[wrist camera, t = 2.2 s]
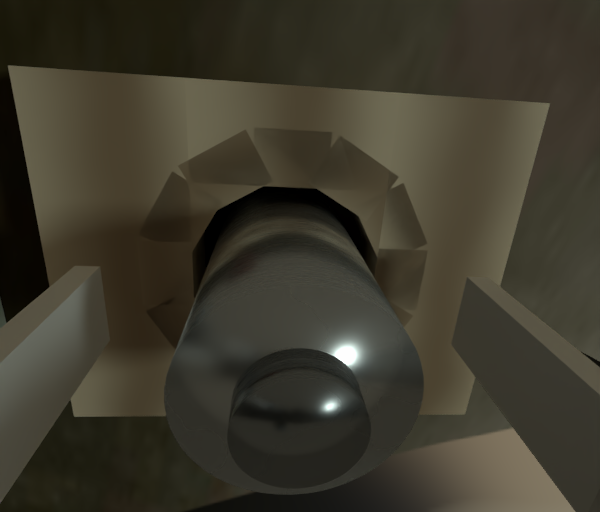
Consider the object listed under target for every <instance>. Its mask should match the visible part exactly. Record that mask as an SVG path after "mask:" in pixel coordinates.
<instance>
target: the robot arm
mask: <svg viewBox="0 0 600 512" xmlns="http://www.w3.org/2000/svg"><path fill="white" fill-rule="evenodd" d="M109 341H110V337H109V329H108V322H107V314H106V307H105V299H104V292H103V284H102V277H101V269H100V266H74V267H73V268H72V269H70V270H69V271H68V272H67V273H66V274H65V275H63V276H62V277H61V278H60V279H59V280H57V281H56V282H55V283H54V284H53V285H51V286H50V287H49V288H48V289H47V290H45V291H44V292H43V293H42V294H41V295H40V296H38V297H37V298H36V299H35V300H34V301H32V302H31V303H30V304H29V305H28V306H26V307H25V308H24V309H23V310H22V311H20V312H19V313H18V314H17V315H16V316H15V317H13V318H12V319H11V320H10V321H9V322H7V323H6V324H5V325H4V326H3V327H1V328H0V503H1V502H2V500H3V499H4V497H5V496H6V494H7V493H8V491H9V490H10V488H11V487H12V485H13V484H14V482H15V481H16V479H17V478H18V476H19V475H20V473H21V472H22V470H23V469H24V467H25V466H26V464H27V463H28V461H29V460H30V458H31V457H32V455H33V454H34V452H35V451H36V449H37V448H38V447H39V445H40V444H41V442H42V441H43V439H44V438H45V436H46V435H47V433H48V432H49V430H50V429H51V427H52V426H53V424H54V423H55V421H56V420H57V418H58V417H59V415H60V414H61V412H62V411H63V409H64V408H65V406H66V405H67V403H68V402H69V400H70V399H71V397H72V396H73V394H74V393H75V391H76V390H77V388H78V387H79V386H80V384H81V383H82V381H83V380H84V378H85V377H86V375H87V374H88V372H89V371H90V369H91V368H92V366H93V365H94V363H95V362H96V360H97V359H98V357H99V356H100V354H101V353H102V351H103V350H104V348H105V347H106V345H107V344H108V342H109ZM451 345H452V346H453V348H454V349H455V350H456V352H457V353H458V354H459V356H460V357H461V358H462V360H463V361H464V362H465V364H466V365H467V366H468V368H469V369H470V370H471V372H472V373H473V375H474V376H475V377H476V379H477V380H478V381H479V383H480V384H481V385H482V387H483V388H484V389H485V391H486V392H487V393H488V395H489V396H490V397H491V399H492V400H493V401H494V403H495V404H496V405H497V407H498V408H499V409H500V411H501V412H502V413H503V415H504V416H505V417H506V419H507V420H508V422H509V423H510V424H511V426H512V427H513V428H514V429H515V431H516V432H517V433H518V435H519V436H520V438H521V439H522V440H523V441H524V443H525V444H526V446H527V447H528V448H529V450H530V451H531V452H532V454H533V455H534V456H535V458H536V459H537V460H538V462H539V463H540V464H541V466H542V467H543V469H544V470H545V471H546V473H547V474H548V475H549V476H550V478H551V479H552V481H553V482H554V483H555V485H556V486H557V487H558V488H559V490H560V491H561V493H562V494H563V495H564V497H565V498H566V499H567V500H568V502H569V503H570V505H571V506H572V507H573V509H574V510H575V511H576V512H600V362H599V361H597V360H595V359H594V358H592V357H590V356H588V355H586V354H584V353H582V352H580V351H579V350H578V349H576V348H575V347H574V346H573V345H571V344H570V343H569V342H568V341H566V340H565V339H564V338H563V337H561V336H560V335H559V334H558V333H557V332H555V331H554V330H553V329H552V328H550V327H549V326H548V325H547V324H545V323H544V322H543V321H542V320H540V319H539V318H538V317H537V316H535V315H534V314H533V313H532V312H530V311H529V310H528V309H527V308H526V307H524V306H523V305H522V304H521V303H519V302H518V301H517V300H516V299H514V298H513V297H512V296H511V295H509V294H508V293H507V292H506V291H504V290H503V289H502V288H501V287H499V286H498V285H497V284H496V283H495V282H493V281H492V280H491V279H490V278H488V277H467V279H466V283H465V287H464V292H463V296H462V300H461V304H460V309H459V313H458V317H457V321H456V325H455V330H454V334H453V338H452V342H451Z"/></svg>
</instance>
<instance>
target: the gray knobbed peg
mask: <svg viewBox="0 0 600 512" xmlns="http://www.w3.org/2000/svg"><path fill="white" fill-rule="evenodd" d="M423 392H424V375H423V370H422V364H421V361H420V358H419V355H418V352H417V350H416V348H415V346H414V344H413V342H412V341H411V339H410V337H409V335H408V334H407V332H406V330H405V329H404V327H403V325H402V324H401V322H400V320H399V319H398V317H397V315H396V314H395V312H394V310H393V308H392V307H391V305H390V303H389V302H388V300H387V298H386V297H385V295H384V293H383V292H382V290H381V288H380V287H379V285H378V283H377V282H376V280H375V278H374V276H373V275H372V273H371V271H370V270H369V268H368V266H367V265H366V263H365V261H364V260H363V258H362V256H361V255H360V253H359V251H358V249H357V248H356V246H355V244H354V243H353V241H352V239H351V238H350V236H349V234H348V233H347V231H346V229H345V228H344V226H343V224H342V223H341V221H340V219H339V217H338V216H337V214H336V213H335V212H334V210H333V209H332V208H331V207H330V206H329V205H328V204H327V203H326V202H325V201H323V200H322V199H321V198H319V197H318V196H316V195H314V194H312V193H310V192H307V191H305V190H302V189H298V188H292V187H274V188H268V189H265V190H261V191H258V192H256V193H254V194H252V195H250V196H248V197H247V198H245V199H244V200H242V201H241V202H240V203H239V204H237V205H236V206H235V208H234V209H233V210H232V211H231V212H230V214H229V215H228V216H227V218H226V220H225V222H224V224H223V226H222V229H221V231H220V234H219V237H218V239H217V242H216V244H215V247H214V250H213V252H212V255H211V258H210V260H209V263H208V266H207V268H206V271H205V274H204V276H203V279H202V282H201V284H200V287H199V290H198V292H197V295H196V297H195V300H194V303H193V305H192V308H191V311H190V313H189V316H188V319H187V321H186V324H185V327H184V329H183V332H182V335H181V337H180V340H179V342H178V345H177V348H176V350H175V353H174V356H173V358H172V361H171V364H170V367H169V370H168V372H167V376H166V382H165V387H164V405H165V411H166V417H167V420H168V423H169V426H170V429H171V431H172V433H173V435H174V437H175V439H176V440H177V442H178V444H179V445H180V446H181V448H182V449H183V450H184V452H185V453H186V454H187V455H188V456H189V457H190V458H191V459H192V460H193V461H194V462H195V463H196V464H197V465H199V466H200V467H201V468H203V469H204V470H205V471H206V472H208V473H210V474H212V475H213V476H215V477H217V478H218V479H220V480H223V481H225V482H227V483H229V484H231V485H234V486H237V487H240V488H243V489H247V490H251V491H256V492H262V493H269V494H289V495H290V494H303V493H304V494H305V493H311V492H317V491H322V490H326V489H330V488H333V487H336V486H339V485H342V484H345V483H348V482H350V481H352V480H354V479H356V478H358V477H361V476H362V475H364V474H366V473H368V472H369V471H371V470H372V469H374V468H376V467H377V466H378V465H379V464H381V463H382V462H383V461H385V460H386V459H387V458H388V457H389V456H390V455H391V454H392V453H393V452H394V451H396V450H397V448H398V447H399V446H400V445H401V444H402V442H403V441H404V440H405V439H406V437H407V435H408V434H409V432H410V431H411V429H412V428H413V425H414V423H415V421H416V419H417V417H418V414H419V411H420V408H421V404H422V399H423Z"/></svg>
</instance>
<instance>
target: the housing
mask: <svg viewBox="0 0 600 512" xmlns="http://www.w3.org/2000/svg"><path fill="white" fill-rule="evenodd" d="M8 69H9V74H10V79H11V85H12V90H13V95H14V101H15V106H16V111H17V116H18V122H19V127H20V132H21V138H22V143H23V148H24V154H25V159H26V164H27V169H28V175H29V180H30V185H31V191H32V196H33V201H34V207H35V212H36V217H37V222H38V228H39V233H40V238H41V244H42V249H43V254H44V260H45V265H46V270H47V276H48V281H49V286H51V285H53V284H54V283H55V282H56V281H57V280H59V279H60V278H61V277H62V276H63V275H65V274H66V273H67V272H68V271H69V270H70V269H72V268H73V267H74V266H100V269H101V277H102V284H103V292H104V299H105V307H106V314H107V322H108V329H109V337H110V341H109V342H108V344H107V345H106V347H105V348H104V350H103V351H102V353H101V354H100V356H99V357H98V359H97V360H96V362H95V363H94V365H93V366H92V368H91V369H90V371H89V372H88V374H87V375H86V377H85V378H84V380H83V381H82V383H81V384H80V386H79V387H78V388H77V390H76V391H75V393H74V394H73V396H72V397H71V403H72V408H73V413H74V417H94V416H166V411H165V405H164V387H165V382H166V376H167V372H168V370H169V367H170V364H171V361H172V358H173V356H174V353H175V350H176V348H177V345H178V342H179V340H180V337H181V335H182V332H183V329H184V327H185V324H186V321H187V319H188V316H189V313H190V311H191V308H192V305H193V303H194V300H195V297H196V295H197V292H198V290H199V287H200V284H201V282H202V279H203V276H204V274H205V271H206V268H205V235H204V231H205V230H206V228H207V226H208V225H209V223H210V221H211V220H212V218H213V216H214V215H215V213H216V211H217V210H218V209H220V208H222V207H224V206H226V205H228V204H230V203H232V202H234V201H236V200H238V199H240V198H242V197H244V196H245V195H247V194H249V193H251V192H253V191H255V190H257V189H259V188H261V187H263V186H272V187H294V188H315V189H318V190H320V191H321V192H323V193H324V194H326V195H327V196H329V197H330V198H332V199H333V200H335V201H336V202H338V203H339V204H341V205H342V206H344V207H346V208H347V209H349V210H350V211H351V213H352V215H353V218H354V220H355V222H356V224H357V226H358V228H359V231H360V233H361V238H360V246H359V253H360V255H361V256H362V258H363V260H364V261H365V263H366V265H367V266H368V268H369V270H370V271H371V273H372V275H373V276H374V278H375V280H376V282H377V283H378V285H379V287H380V288H381V290H382V292H383V293H384V295H385V297H386V298H387V300H388V302H389V303H390V305H391V307H392V308H393V310H394V312H395V314H396V315H397V317H398V319H399V320H400V322H401V324H402V325H403V327H404V329H405V330H406V332H407V334H408V335H409V337H410V339H411V341H412V342H413V344H414V346H415V348H416V350H417V352H418V355H419V358H420V361H421V364H422V370H423V375H424V392H423V399H422V404H421V408H420V411H419V414H418V415H456V414H465V413H466V409H467V405H468V402H469V398H470V394H471V391H472V387H473V383H474V380H475V376H474V375H473V373H472V372H471V370H470V369H469V368H468V366H467V365H466V364H465V362H464V361H463V360H462V358H461V357H460V356H459V354H458V353H457V352H456V350H455V349H454V348H453V346H452V345H451V342H452V338H453V334H454V330H455V325H456V321H457V317H458V313H459V309H460V304H461V300H462V296H463V292H464V287H465V283H466V279H467V277H488V278H490V279H491V280H492V281H493V282H495V283H496V284H497V285H498V286H499V287H500V284H501V281H502V277H503V273H504V270H505V266H506V262H507V259H508V255H509V251H510V248H511V244H512V240H513V237H514V233H515V229H516V226H517V222H518V218H519V215H520V211H521V207H522V204H523V200H524V196H525V193H526V189H527V185H528V182H529V178H530V174H531V171H532V167H533V164H534V160H535V156H536V153H537V149H538V145H539V142H540V138H541V134H542V131H543V127H544V123H545V120H546V116H547V112H548V109H549V105H550V103H536V102H522V101H507V100H493V99H479V98H465V97H450V96H436V95H422V94H407V93H393V92H379V91H365V90H350V89H336V88H322V87H308V86H293V85H279V84H265V83H251V82H236V81H222V80H208V79H193V78H179V77H165V76H151V75H136V74H122V73H108V72H94V71H79V70H65V69H51V68H37V67H22V66H8Z"/></svg>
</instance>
